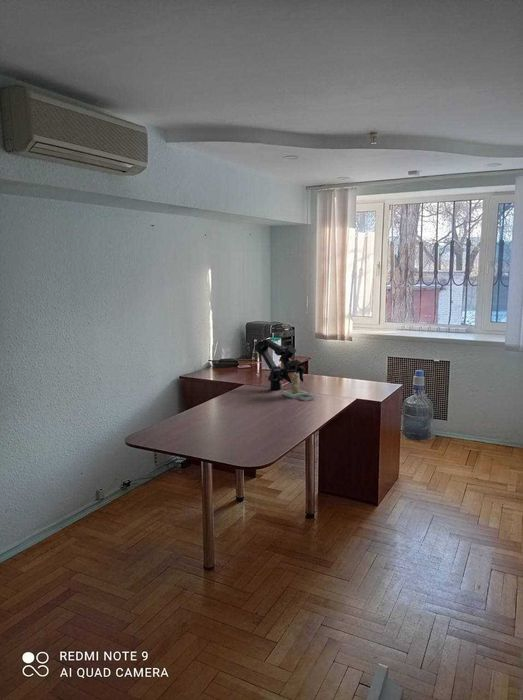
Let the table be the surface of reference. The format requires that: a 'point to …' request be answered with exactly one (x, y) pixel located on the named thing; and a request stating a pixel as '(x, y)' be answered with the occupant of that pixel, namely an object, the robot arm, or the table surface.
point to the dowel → (295, 383)
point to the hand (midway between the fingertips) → (297, 382)
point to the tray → (289, 394)
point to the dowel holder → (305, 397)
